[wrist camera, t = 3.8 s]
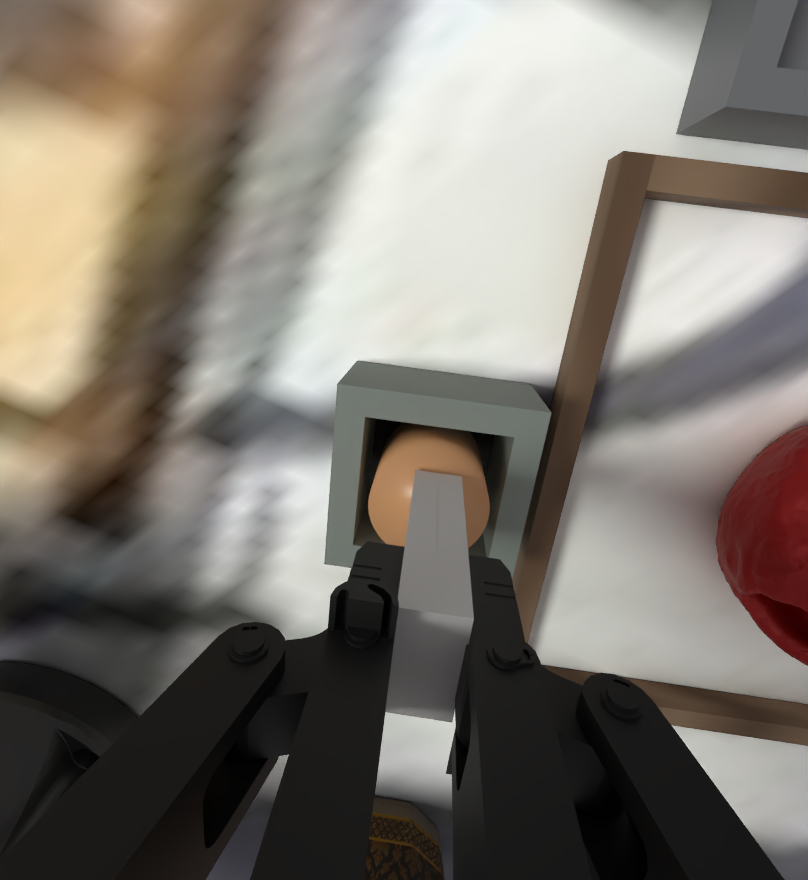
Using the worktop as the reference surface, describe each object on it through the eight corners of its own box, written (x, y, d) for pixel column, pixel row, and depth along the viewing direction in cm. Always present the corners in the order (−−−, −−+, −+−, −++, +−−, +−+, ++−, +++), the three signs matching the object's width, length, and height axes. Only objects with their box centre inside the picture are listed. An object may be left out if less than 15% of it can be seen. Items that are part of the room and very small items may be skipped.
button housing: (344, 512, 22) (324, 564, 18) (357, 360, 20) (337, 383, 16) (497, 534, 22) (509, 590, 18) (530, 383, 19) (551, 412, 16)
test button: (377, 498, 20) (363, 551, 17) (387, 408, 19) (374, 444, 15) (471, 511, 20) (478, 568, 17) (488, 422, 19) (500, 461, 15)
